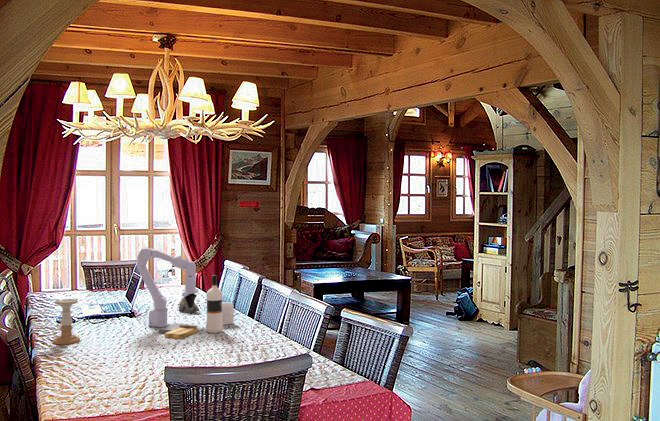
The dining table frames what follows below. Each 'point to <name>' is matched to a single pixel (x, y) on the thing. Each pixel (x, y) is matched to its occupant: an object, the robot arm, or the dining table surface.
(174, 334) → the tan wooden flat block
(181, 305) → the mineral rock
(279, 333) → the dining table surface
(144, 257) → the robot arm
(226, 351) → the game piece set
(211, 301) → the vodka
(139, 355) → the dining table surface
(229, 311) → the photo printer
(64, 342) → the candle holder
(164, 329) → the grey flat block
